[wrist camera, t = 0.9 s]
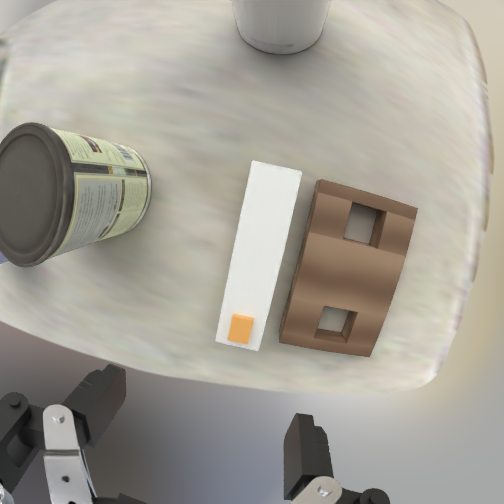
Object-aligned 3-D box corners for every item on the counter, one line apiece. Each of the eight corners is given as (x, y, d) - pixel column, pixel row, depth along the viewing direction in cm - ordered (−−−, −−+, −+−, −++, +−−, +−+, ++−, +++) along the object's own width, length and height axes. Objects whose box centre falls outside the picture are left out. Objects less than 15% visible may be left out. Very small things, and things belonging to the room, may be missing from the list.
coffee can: (70, 224, 30) (-19, 245, 16) (87, 138, 27) (-3, 120, 14) (141, 248, 29) (56, 288, 16) (163, 152, 27) (82, 126, 14)
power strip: (255, 166, 27) (251, 159, 22) (296, 175, 27) (302, 170, 21) (223, 319, 30) (214, 344, 25) (260, 327, 30) (257, 354, 25)
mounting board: (316, 180, 27) (321, 179, 24) (406, 206, 27) (417, 208, 24) (278, 331, 30) (279, 342, 28) (363, 346, 30) (369, 357, 28)
